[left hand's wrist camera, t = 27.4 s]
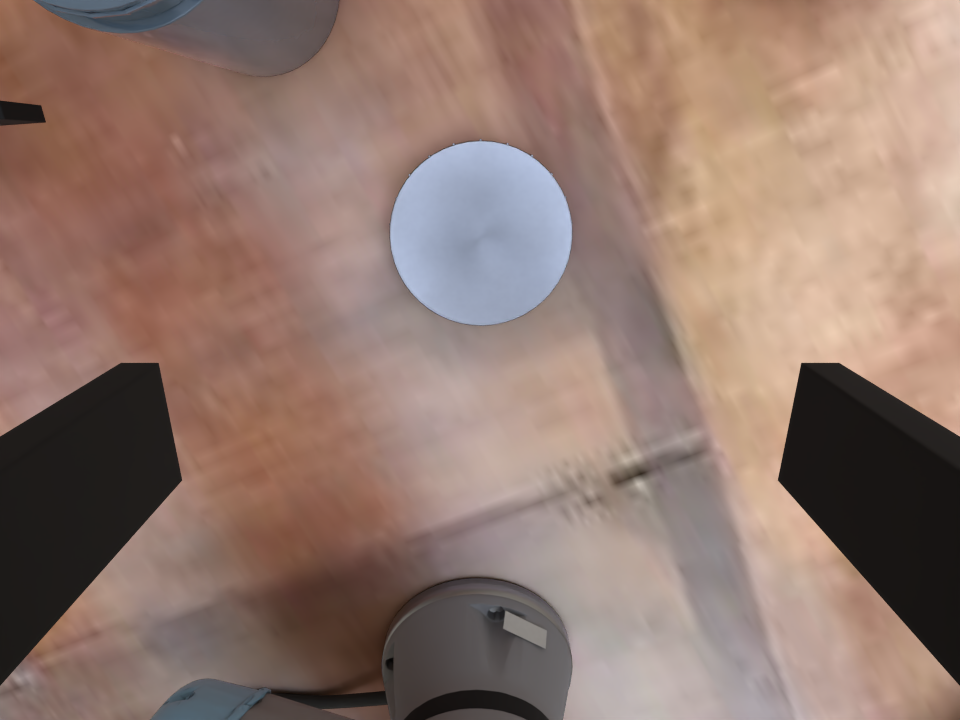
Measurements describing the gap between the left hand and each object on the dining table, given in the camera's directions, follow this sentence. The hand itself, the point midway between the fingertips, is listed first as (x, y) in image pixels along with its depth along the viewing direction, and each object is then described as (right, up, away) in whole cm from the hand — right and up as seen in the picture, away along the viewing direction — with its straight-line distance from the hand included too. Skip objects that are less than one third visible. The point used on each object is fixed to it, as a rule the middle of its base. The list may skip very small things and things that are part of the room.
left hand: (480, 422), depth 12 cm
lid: (0, +9, +23) cm, 25 cm away
